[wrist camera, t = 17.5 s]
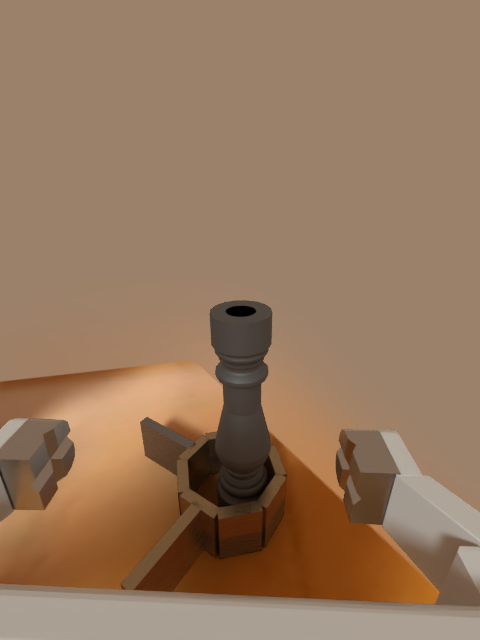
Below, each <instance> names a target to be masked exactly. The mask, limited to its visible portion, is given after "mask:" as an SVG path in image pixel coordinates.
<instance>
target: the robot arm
mask: <svg viewBox="0 0 480 640" xmlns="http://www.w3.org/2000/svg"><path fill="white" fill-rule="evenodd" d="M69 432H70V428H69V424H68V422H67V421H64V420H53V419H36V418H32V419H29V418H14V419H11V420H9V421H8V422H7V423H6V424H5V425H4V426H3V427H2V428H1V429H0V522H1V521H2V520H4V519H5V518H6V517H7V516H9V515H10V514H11V513H12V512H13V510H45V508H46V507H47V505H48V504H49V502H50V501H51V499H52V497H53V496H54V494H55V493H56V491H57V490H58V486H57V482H58V481H59V480H61V479H62V478H64V477H65V476H66V475H67V474H68V472H69V470H70V469H71V467H72V464H73V460H74V457H75V448H74V444H73V442H72V441H71V440H70V439H69V438H68V437H67V435H68V434H69ZM339 442H340V445H341V448H340V449H339V450H338V451H337V455H336V474H337V479H338V483H339V486H340V487H341V488H342V489H343V490H344V491H345V494H344V499H343V500H344V504H345V507H346V511H347V514H348V518H349V521H350V523H363V524H378V525H382V527H383V528H384V529H385V530H386V531H387V533H388V534H389V535H390V536H391V537H392V538H393V539H394V541H395V542H396V543H397V544H398V545H399V546H400V547H401V548H402V550H403V551H404V552H405V553H406V554H407V555H408V556H409V557H410V559H411V560H412V561H413V562H414V563H415V564H416V565H417V566H418V568H419V569H420V570H421V571H422V572H423V573H424V574H425V576H426V577H427V578H428V579H429V580H430V581H431V582H432V583H433V585H434V586H435V587H436V588H437V589H438V590H439V591H440V593H439V596H438V598H437V600H436V603H435V604H418V603H397V602H376V601H354V600H333V599H312V598H291V597H270V596H249V595H228V594H206V593H185V592H164V591H143V590H122V589H101V588H81V587H60V586H39V585H19V584H0V640H480V513H479V512H478V511H477V510H475V509H474V508H473V507H471V506H470V505H468V504H467V503H465V502H464V501H463V500H461V499H460V498H458V497H457V496H456V495H454V494H453V493H452V492H450V491H449V490H447V489H446V488H445V487H443V486H442V485H440V484H439V483H438V482H436V481H435V480H433V479H432V478H431V477H429V476H423V475H422V474H421V472H420V470H419V468H418V467H417V465H416V463H415V461H414V460H413V458H412V456H411V455H410V453H409V451H408V449H407V448H406V446H405V444H404V443H403V441H402V439H401V438H400V436H399V434H398V433H397V432H396V431H395V430H352V429H350V430H349V429H342V430H341V432H340V436H339Z"/></svg>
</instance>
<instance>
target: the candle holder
mask: <svg viewBox="0 0 480 640" xmlns="http://www.w3.org/2000/svg"><path fill="white" fill-rule="evenodd" d="M210 326H211V344H212V346H213V348H214V349H215V353H216V355H217V356H218V357H219V360H220V361H221V362H220V363H219V364H218V365H217V366H216V371H215V373H216V377H217V379H218V380H219V382H220V383H222V384H223V398H224V405H223V409H222V414H221V418H220V422H219V426H218V430H217V435H216V440H215V451H216V453H217V456H218V458H219V460H220V462H221V463H222V464H223V465H222V467H221V469H220V470H219V479H218V485H217V494H218V507H219V508H220V507H225V506H231V505H236V504H242V503H247V502H253V501H258V499H259V498H260V496H261V495H262V493H263V492H264V491H265V489H266V488H267V486H268V485H269V478H268V473H267V469H266V467H265V466H264V463H265V462H266V460H267V457H268V455H269V453H270V450H271V442H270V436H269V432H268V429H267V425H266V421H265V417H264V414H263V410H262V406H261V383H262V382H264V381H265V379H266V377H267V376H268V366H267V365H266V364H265V363H264V362H263V359H264V357H265V355H266V354H267V352H268V348H269V347H270V345H271V337H272V311H271V308H270V307H268V306H267V305H265V304H262V303H259V302H254V301H230V302H224V303H221V304H218V305H216V306H214V307H213V308H212V309H211V310H210Z"/></svg>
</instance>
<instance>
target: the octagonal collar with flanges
mask: <svg viewBox="0 0 480 640" xmlns="http://www.w3.org/2000/svg"><path fill="white" fill-rule="evenodd" d="M140 424H141V431H142V437H143V444H144V450H145V456H147V457H148V458H150V459H151V460H153V461H155V462H156V463H158V464H159V465H161V466H163V467H164V468H166V469H167V470H169V471H171V472H172V473H174V474H175V475H177V480H178V499H179V508H180V517H179V518H178V520H177V521H176V522H175V523H174V524H173V525H172V526H171V527H170V529H169V530H168V531H167V532H166V533H165V534H164V535H163V537H162V538H161V539H160V540H159V541H158V542H157V543H156V544H155V546H154V547H153V548H152V549H151V550H150V551H149V552H148V553H147V555H146V556H145V557H144V558H143V559H142V560H141V561H140V562H139V564H138V565H137V566H136V567H135V568H134V569H133V570H132V572H131V573H130V574H129V575H128V576H127V577H126V578H125V579H124V581H123V582H122V583H121V587H122V590H143V591H164V592H172V591H173V589H174V588H175V587H176V585H177V584H178V583H179V581H180V580H181V579H182V577H183V576H184V575H185V573H186V572H187V571H188V569H189V568H190V567H191V565H192V564H193V563H194V561H195V560H196V559H197V557H198V556H199V555H200V553H201V552H202V550H203V549H204V550H205V551H207V552H208V553H209V554H211V555H212V556H213V557H215V558H216V557H217V555H218V554H219V555H220V559H223V558H227V557H232V556H237V555H242V554H246V553H251V552H256V551H261V547H262V546H263V547H266V545H267V543H268V542H269V540H270V538H271V537H272V535H273V533H274V531H275V530H276V528H277V526H278V524H279V523H280V521H281V519H282V518H283V516H284V506H285V493H286V479H287V473H286V471H285V468H284V466H283V463H282V461H281V458H280V456H279V453H278V451H277V448H276V446H275V445H273V443H272V442H271V450H270V453H269V455H268V457H267V460H266V462H265V463H264V466H265V467H266V469H267V473H268V478H269V485H268V486H267V488H266V489H265V491H264V492H263V493H262V495H261V496H260V498H259V499H258V501H253V502H247V503H242V504H236V505H231V506H225V507H220V508H219V507H217V506H216V505H214V504H213V503H211V502H209V501H208V500H206V499H205V498H203V497H202V496H200V495H198V494H197V493H195V491H196V490H197V489H198V488H199V487H200V486H201V485H202V484H203V482H204V481H205V480H206V479H207V478H208V477H209V476H210V475H212V474H218V473H219V470H220V469H221V467H222V465H223V464H222V463H221V462H220V460H219V458H218V456H217V453H216V451H215V440H216V435H217V432H211V433H206V436H204V435H202V436H201V437H199V438H198V439H197V440H196V441H195V442H193V441H191V440H189V439H187V438H185V437H183V436H181V435H180V434H178V433H176V432H174V431H172V430H170V429H168V428H167V427H165V426H163V425H161V424H159V423H157V422H155V421H153V420H152V419H150V418H148V417H146V418H145V419H144V420H142V421H141V422H140Z"/></svg>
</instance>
